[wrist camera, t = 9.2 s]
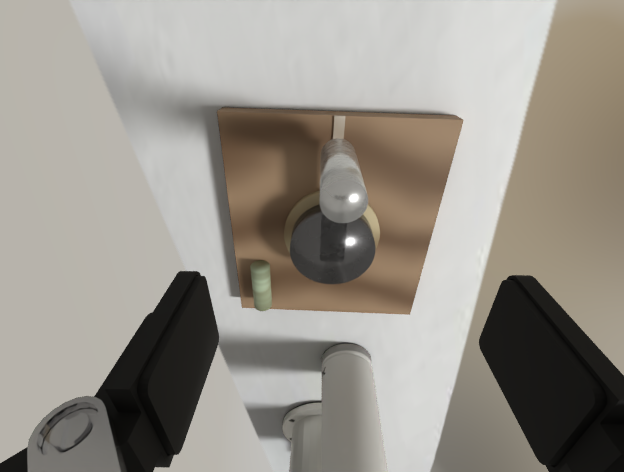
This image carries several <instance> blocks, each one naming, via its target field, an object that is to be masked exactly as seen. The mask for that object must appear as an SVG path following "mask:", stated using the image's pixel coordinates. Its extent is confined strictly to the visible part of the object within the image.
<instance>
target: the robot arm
mask: <svg viewBox="0 0 624 472" xmlns="http://www.w3.org/2000/svg"><path fill="white" fill-rule="evenodd" d="M218 342H219V333H218V329H217V324H216V320H215V316H214V311H213V307H212V302H211V298H210V294H209V289H208V285H207V281H206V278H205V276H201V275H200V273H199V272H197V271H180V272H178V274H177V275H176V277H175V278H174V280H173V282H172V283H171V285H170V286H169V288H168V289H167V291H166V293H165V294H164V296H163V297H162V299H161V300H160V302H159V303H158V305H157V307H156V308H155V310H154V312H153V313H150V314H148V315H147V317H146V318H145V319H144V321H143V322H142V324H141V325H140V327H139V328H138V330H137V331H136V333H135V335H134V336H133V338H132V339H131V341H130V342H129V344H128V345H127V347H126V349H125V350H124V352H123V353H122V355H121V356H120V358H119V359H118V361H117V362H116V364H115V366H114V367H113V369H112V370H111V372H110V373H109V375H108V376H107V378H106V380H105V381H104V383H103V385H102V386H101V387H100V389H99V390H98V392H97V393H96V395H95V396H94V397H91V396H84V397H78V398H75V399H72V400H70V401H68V402H65V403H63V404H62V405H60V406H59V407H57V408H55V409H54V410H53V411H51V412H50V413H49V414H48V415H47V416H46V417H44V418H43V420H42V421H41V422H40V423H39V424H38V425H37V427H36V428H35V430H34V431H33V433H32V435H31V437H30V439H29V443H28V447H27V448H25V449H24V450H22V451H20V452H19V453H17V454H15V455H14V456H12V457H10V458H9V459H7V460H5V461H4V462H2V463H0V472H153V470H154V468H155V467H170V464H171V461H172V458H173V456H174V455H177V454H179V453H180V451H181V449H182V447H183V444H184V441H185V438H186V435H187V432H188V429H189V427H190V424H191V421H192V418H193V415H194V412H195V409H196V406H197V404H198V401H199V398H200V395H201V392H202V389H203V386H204V383H205V381H206V378H207V375H208V372H209V369H210V366H211V363H212V360H213V357H214V355H215V352H216V348H217V346H218ZM479 345H480V349H481V351H482V353H483V355H484V357H485V359H486V361H487V363H488V365H489V367H490V369H491V371H492V373H493V375H494V377H495V378H496V380H497V382H498V384H499V386H500V388H501V390H502V392H503V394H504V396H505V398H506V400H507V401H508V403H509V405H510V407H511V409H512V411H513V413H514V415H515V417H516V419H517V421H518V423H519V425H520V427H521V429H522V431H523V433H524V434H525V436H526V438H527V440H528V442H529V444H530V446H531V448H532V450H533V452H534V454H535V456H536V457H537V459H538V460H539V462H540V463H542V464H543V465H546V467H547V469H548V471H549V472H624V376H623V375H622V373H621V372H620V371H619V370H618V369H617V368H616V367H615V366H614V365H613V363H612V362H611V361H610V360H609V359H608V358H607V357H606V356H605V355H604V354H603V352H602V351H601V350H600V349H599V348H598V347H597V346H596V345H595V344H594V343H593V341H592V340H591V339H590V338H589V337H588V336H587V335H586V334H585V333H584V332H583V331H582V330H581V328H580V327H579V326H578V325H577V324H576V323H575V322H574V321H573V319H572V318H571V317H569V315H568V314H567V313H566V312H565V311H564V310H563V309H562V307H561V306H560V305H559V304H558V303H557V302H556V301H555V300H554V299H553V298H552V296H551V295H550V294H549V293H548V292H547V291H546V290H545V289H544V288H543V287H542V286H541V285H540V283H539V282H538V281H537V280H536V279H535V278H534V277H533V276H522V275H512V276H509V277H508V278H507V280H504V281H502V283H501V285H500V288H499V290H498V293H497V295H496V298H495V300H494V303H493V305H492V308H491V310H490V313H489V316H488V318H487V321H486V323H485V326H484V328H483V331H482V333H481V336H480V339H479ZM282 430H283V433H284V435H285V437H286V438H287V439H288V440H289V441H290V442H291V455H290V468H289V472H322V402H321V403H310V404H305V405H302V406H299V407H297V408H294V409H293V410H291V411H290V412H289V413H288V414H287V415H286V416H285V418H284V419H283V426H282Z"/></svg>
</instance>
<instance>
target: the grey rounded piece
mask: <svg viewBox="0 0 624 472" xmlns="http://www.w3.org/2000/svg"><path fill="white" fill-rule="evenodd" d="M367 206H368V195H367V192H366V188H365V184H364V181H363V177H362V174H361V170H360V167H359V163H358V159H357V156H356V152H355V149H354V147H353V145H352V144H351V143H350V142H348V141H347V140H345V139H339V138H338V139H333V140H330V141H329V142H327V143H326V144H325V145H324V146H323V148H322V150H321V154H320V204H319V205H316V206H314V207H311V208H310V209H308V210H306V211H305V212H304V213H303V214H302V215H301V216H300V217H299V218H298V219H297V221H296V223H295V224H294V227H293V230H292V236H291V242H290V256H291V260H292V262H293V264H294V266H295V267H296V269H297V270H298V271H299V272H300V273H301V274H302V275H304V276H305V277H307V278H308V279H310V280H313V281H315V282H318V283H323V284H341V283H346V282H349V281H352V280H354V279H356V278H358V277H359V276H361V275H362V274H363V273H364V272H365V271H366V270H367V269H368V268H369V267H370V265H371V264H372V262H373V259H374V256H375V250H376V247H375V241H374V237H373V233H372V229H371V226H370V224H369V221H368V220H367V218H366V217H365V216H364V215H363V214H364V212H365V211H366V209H367Z"/></svg>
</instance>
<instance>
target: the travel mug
mask: <svg viewBox="0 0 624 472" xmlns="http://www.w3.org/2000/svg"><path fill="white" fill-rule="evenodd" d="M322 472H388V469H387V462H386V455H385V449H384V442H383V435H382V429H381V422H380V415H379V409H378V402H377V395H376V389H375V382H374V375H373V369H372V362H371V356H370V354H369V353H368V351H367V350H366V349H364V348H363V347H361V346H358V345H355V344H339V345H335V346H333V347H331V348H329V349H328V350H326V351H325V353H324V354H323V356H322Z"/></svg>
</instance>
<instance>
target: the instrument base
mask: <svg viewBox="0 0 624 472" xmlns="http://www.w3.org/2000/svg"><path fill="white" fill-rule="evenodd" d="M217 115H218V123H219V131H220V138H221V146H222V154H223V162H224V170H225V178H226V186H227V194H228V201H229V209H230V217H231V225H232V233H233V241H234V249H235V256H236V264H237V272H238V280H239V288H240V296H241V304H242V308H256V309H257V310H259V311H266V310H268V309H287V310H312V311H337V312H361V313H386V314H410V312H411V309H412V305H413V301H414V298H415V294H416V290H417V287H418V283H419V280H420V276H421V272H422V269H423V265H424V261H425V258H426V254H427V251H428V247H429V243H430V240H431V236H432V232H433V229H434V225H435V222H436V218H437V214H438V211H439V207H440V203H441V200H442V196H443V193H444V189H445V185H446V182H447V178H448V174H449V171H450V167H451V164H452V160H453V156H454V153H455V149H456V145H457V142H458V138H459V135H460V131H461V127H462V124H463V119H461V118H459V117H458V116H454V115H426V114H398V113H369V112H341V111H313V110H285V109H256V108H228V107H222V108H221V109H219V110H218V111H217ZM338 138H339V139H345V140H347V141H348V142H350V143H351V144H352V145H353V147H354V149H355V152H356V156H357V159H358V163H359V167H360V170H361V174H362V177H363V181H364V184H365V188H366V192H367V195H368V206H367V209H366V211H365V212H364V214H363V215H364V216H365V217H366V218H367V220H368V221H369V224H370V226H371V229H372V233H373V237H374V241H375V247H376V250H375V256H374V259H373V262H372V264H371V265H370V267H369V268H368V269H367V270H366V271H365V272H364V273H363V274H362V275H361V276H359V277H358V278H356V279H354V280H352V281H349V282H346V283H341V284H323V283H318V282H315V281H313V280H310V279H308V278H307V277H305V276H304V275H302V274H301V273H300V272H299V271H298V270H297V269H296V267H295V266H294V264H293V262H292V260H291V256H290V242H291V236H292V230H293V227H294V224H295V223H296V221H297V219H298V218H299V217H300V216H301V215H302V214H303V213H304V212H305V211H306V210H308V209H310V208H311V207H314V206H316V205H319V204H320V154H321V150H322V148H323V146H324V145H325V144H326V143H327V142H329V141H330V140H333V139H338Z"/></svg>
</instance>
